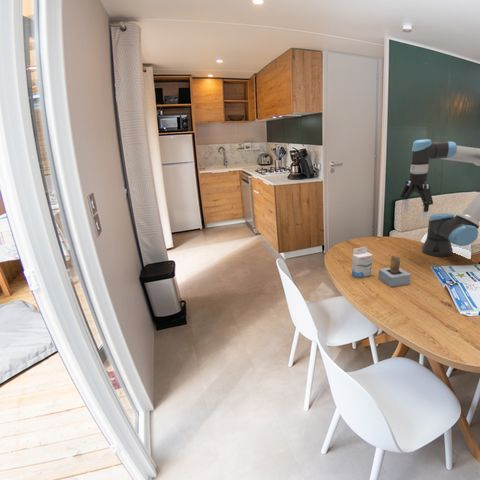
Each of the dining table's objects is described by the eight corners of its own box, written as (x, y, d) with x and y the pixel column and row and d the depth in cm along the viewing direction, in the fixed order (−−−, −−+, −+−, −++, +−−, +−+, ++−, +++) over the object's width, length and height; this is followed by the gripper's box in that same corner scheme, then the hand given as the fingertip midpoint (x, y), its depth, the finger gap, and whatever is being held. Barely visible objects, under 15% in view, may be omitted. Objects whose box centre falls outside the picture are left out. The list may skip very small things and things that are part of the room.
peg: (394, 276, 151) (396, 254, 147) (400, 280, 147) (402, 257, 143) (387, 277, 150) (389, 256, 146) (392, 281, 147) (395, 259, 143)
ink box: (356, 278, 155) (358, 252, 150) (351, 274, 159) (352, 248, 155) (371, 275, 156) (373, 249, 152) (365, 271, 161) (367, 246, 156)
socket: (396, 274, 155) (397, 266, 153) (409, 283, 145) (410, 274, 144) (378, 277, 153) (379, 269, 152) (390, 287, 144) (391, 277, 142)
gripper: (395, 171, 158) (391, 209, 165) (431, 176, 135) (425, 221, 142) (408, 169, 159) (404, 208, 166) (446, 174, 136) (439, 219, 143)
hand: (413, 214), depth 154 cm, fingers open, 13 cm apart
